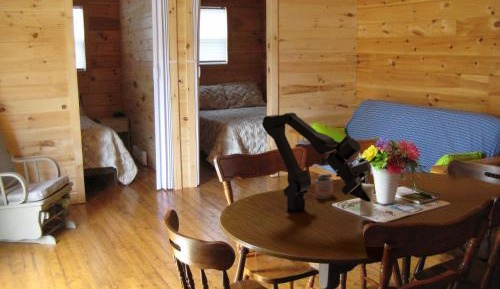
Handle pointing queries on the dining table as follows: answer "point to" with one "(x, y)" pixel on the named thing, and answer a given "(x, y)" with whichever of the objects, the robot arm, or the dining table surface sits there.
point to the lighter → (323, 186)
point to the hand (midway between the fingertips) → (370, 199)
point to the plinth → (377, 212)
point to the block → (365, 206)
